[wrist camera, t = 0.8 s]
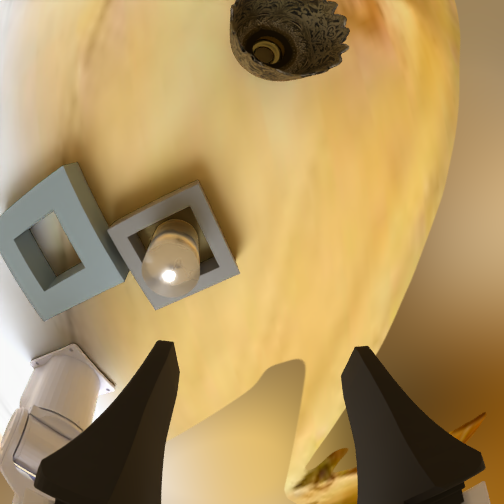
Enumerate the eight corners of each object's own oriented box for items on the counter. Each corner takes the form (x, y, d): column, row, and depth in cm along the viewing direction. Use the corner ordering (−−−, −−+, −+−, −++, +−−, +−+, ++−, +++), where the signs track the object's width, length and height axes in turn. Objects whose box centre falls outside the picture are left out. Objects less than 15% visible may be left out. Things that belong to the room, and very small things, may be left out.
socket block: (54, 305, 24) (43, 321, 21) (4, 218, 19) (-13, 228, 17) (131, 265, 24) (124, 281, 21) (77, 162, 20) (62, 165, 17)
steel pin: (166, 269, 25) (159, 305, 19) (144, 231, 23) (130, 258, 18) (205, 251, 25) (209, 283, 19) (186, 211, 23) (183, 233, 18)
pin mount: (158, 295, 25) (155, 310, 23) (115, 221, 22) (106, 230, 20) (235, 261, 26) (239, 273, 23) (198, 179, 22) (198, 183, 20)
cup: (229, 102, 20) (246, 83, 13) (210, 26, 18) (218, -20, 10) (314, 89, 21) (363, 72, 14) (294, 17, 18) (333, -21, 11)
